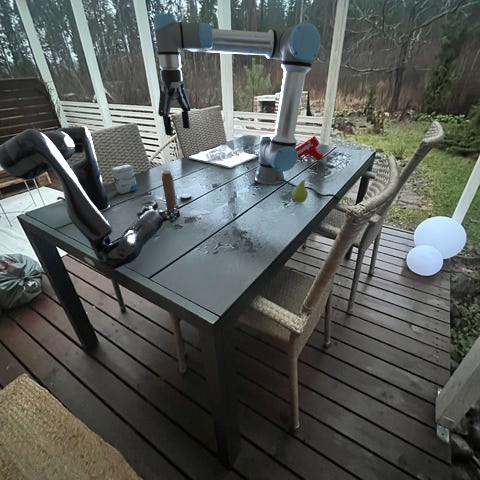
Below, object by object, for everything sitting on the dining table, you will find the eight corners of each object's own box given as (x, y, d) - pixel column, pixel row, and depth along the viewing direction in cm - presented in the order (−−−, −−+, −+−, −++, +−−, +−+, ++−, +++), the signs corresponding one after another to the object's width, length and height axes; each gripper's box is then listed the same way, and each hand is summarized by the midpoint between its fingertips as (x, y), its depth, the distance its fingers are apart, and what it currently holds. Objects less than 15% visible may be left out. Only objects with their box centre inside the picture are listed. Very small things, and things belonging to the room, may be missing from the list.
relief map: (230, 168, 162) (230, 159, 159) (189, 158, 180) (188, 150, 177) (256, 157, 180) (256, 149, 177) (216, 149, 198) (215, 142, 195)
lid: (181, 201, 123) (181, 198, 122) (179, 197, 127) (179, 194, 126) (192, 200, 124) (192, 196, 123) (190, 195, 128) (190, 192, 127)
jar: (173, 213, 113) (166, 169, 103) (180, 215, 112) (174, 171, 102) (166, 217, 110) (158, 172, 100) (173, 219, 109) (166, 174, 99)
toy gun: (327, 155, 171) (314, 135, 167) (326, 157, 167) (314, 136, 164) (302, 170, 181) (290, 151, 177) (301, 172, 177) (288, 153, 174)
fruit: (288, 200, 123) (290, 174, 116) (302, 197, 125) (305, 172, 119) (296, 206, 118) (299, 179, 111) (310, 203, 120) (314, 177, 114)
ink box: (133, 186, 138) (127, 163, 132) (137, 189, 135) (132, 165, 129) (116, 191, 133) (110, 167, 127) (121, 194, 130) (114, 170, 124)
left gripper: (164, 218, 87) (183, 197, 101) (124, 214, 90) (148, 195, 103) (168, 237, 91) (185, 215, 105) (129, 233, 94) (151, 212, 107)
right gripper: (179, 69, 109) (185, 125, 120) (140, 69, 89) (152, 137, 101) (195, 68, 107) (200, 126, 118) (160, 69, 87) (169, 138, 99)
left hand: (167, 205), depth 104 cm, fingers open, 8 cm apart
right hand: (178, 131), depth 109 cm, fingers open, 13 cm apart
